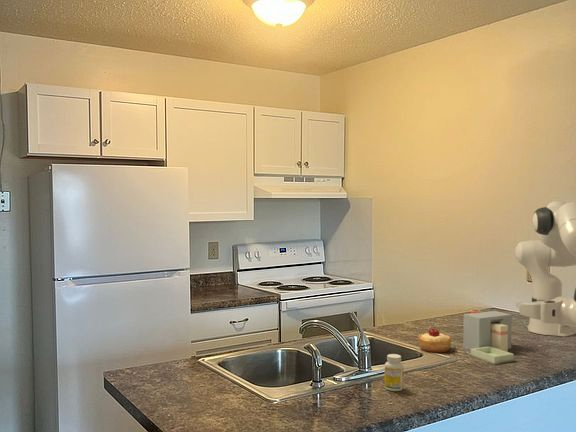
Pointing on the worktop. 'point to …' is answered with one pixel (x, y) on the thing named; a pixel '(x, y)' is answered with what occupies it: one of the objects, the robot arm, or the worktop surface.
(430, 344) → the pastry
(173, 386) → the worktop surface
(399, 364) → the supplement bottle
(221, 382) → the worktop surface
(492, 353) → the tray
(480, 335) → the dispenser
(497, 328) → the pink striped block
